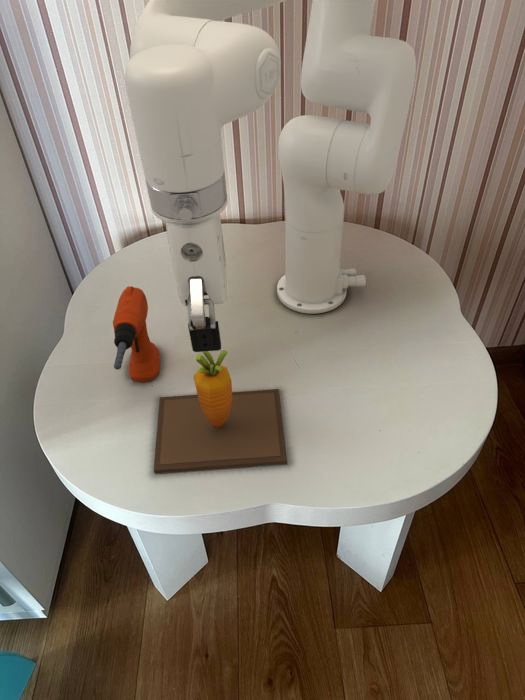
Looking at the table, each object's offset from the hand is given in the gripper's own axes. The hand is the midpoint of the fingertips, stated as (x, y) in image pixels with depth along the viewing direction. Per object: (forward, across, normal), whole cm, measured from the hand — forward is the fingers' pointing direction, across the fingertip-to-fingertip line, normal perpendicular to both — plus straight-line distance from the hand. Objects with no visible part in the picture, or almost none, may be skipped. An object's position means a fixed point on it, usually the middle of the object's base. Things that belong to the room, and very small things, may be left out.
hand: (207, 320), depth 67 cm
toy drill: (+21, +9, +12) cm, 26 cm away
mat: (+21, -1, 0) cm, 21 cm away
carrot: (+20, -1, +1) cm, 20 cm away
